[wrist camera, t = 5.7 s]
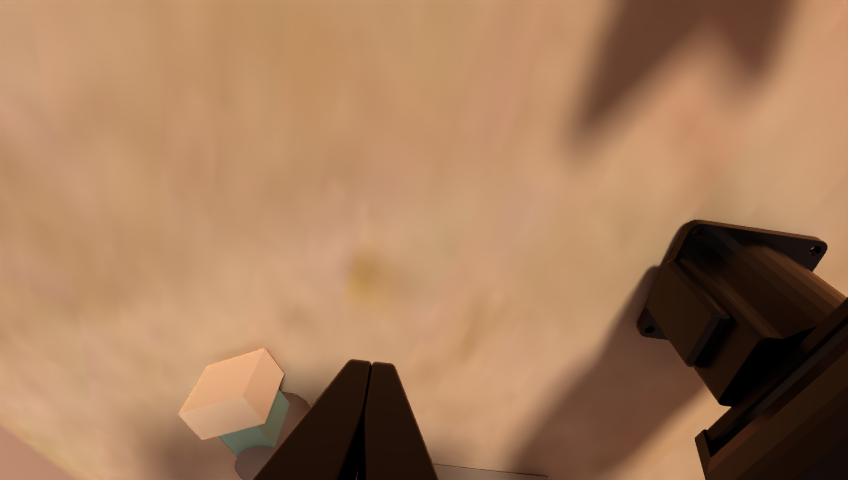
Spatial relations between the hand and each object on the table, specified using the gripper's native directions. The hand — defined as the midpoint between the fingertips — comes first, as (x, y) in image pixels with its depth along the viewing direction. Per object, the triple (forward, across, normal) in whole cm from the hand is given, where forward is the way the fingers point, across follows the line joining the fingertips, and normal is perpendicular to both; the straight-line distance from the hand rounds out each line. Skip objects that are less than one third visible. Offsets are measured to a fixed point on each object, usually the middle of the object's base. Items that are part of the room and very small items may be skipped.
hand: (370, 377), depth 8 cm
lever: (+12, +3, +20) cm, 23 cm away
